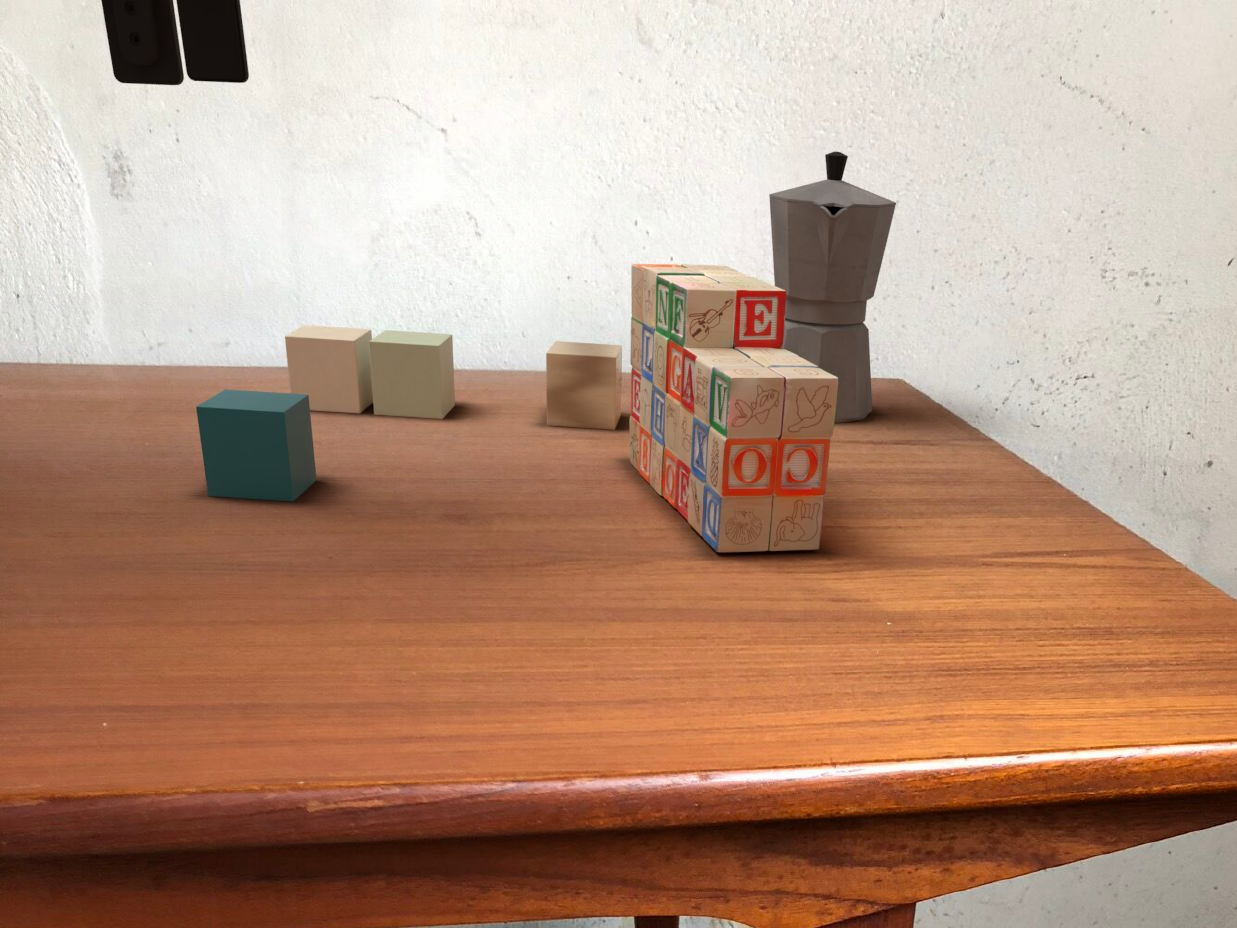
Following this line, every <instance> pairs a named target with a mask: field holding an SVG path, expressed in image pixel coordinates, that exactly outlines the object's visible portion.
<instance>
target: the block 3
mask: <svg viewBox="0 0 1237 928" xmlns="http://www.w3.org/2000/svg"><path fill="white" fill-rule="evenodd" d="M545 362H546V363H545V364H546V365H545V374H546V375H545V380H546V381H545V385H546V387H545V389H546V390H545V391H546V392H545V393H546V395H545V396H546V426H548V427H561V428H562V427H563V428H578V429H596V430H607V431H608V430H609V431H615V430H616V428H617V425H618V423H619V421H620V418H621V415H622V379H623V378H622V377H623V370H622V369H623V345H622V344H607V343H594V342H593V343H591V342H576V341H560V340H555V341H554V342H553V343H552V345H551V346H550V347H549V349H548V350H547V351H546V353H545Z"/></svg>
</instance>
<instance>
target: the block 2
mask: <svg viewBox="0 0 1237 928" xmlns="http://www.w3.org/2000/svg"><path fill="white" fill-rule="evenodd" d="M453 342H454V341H453V334H451V333H437V332H433V333H432V332H422V331H421V332H420V331H406V330H405V331H404V330H392V329H391V330H389V329H385V330H383V331H382V332H380V333H378V334H377V335H376V336H374V337H372V340H370V341H369V349H370V363H371V377H372V391H373V403H372V404H373V405H372V406H373V415H375V416H389V417H402V418H403V417H405V418H418V419H435V420H443V419H444V418H445V417H446V416H447V415H448V414H449V412H451V410H452V409H453V408H454V407H455V406H456V391H455V368H454V366H455V365H454V364H455V363H454V343H453Z"/></svg>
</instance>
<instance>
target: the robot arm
mask: <svg viewBox="0 0 1237 928" xmlns="http://www.w3.org/2000/svg"><path fill="white" fill-rule="evenodd" d="M100 1H101V8H102V13H103V19H104V25H105V30H106V37H107V43H108V49H109V55H110V61H111V67H112V73H113V76H114V79H115V80H116V81H117V82H119V83H120V84H132V85H159V86H180V85H182V84H183V82H184V79H185V75H184V67H183V61H182V53H181V47H180V39H179V32H178V26H177V25H178V24H177V19H176V11H175V5H174V0H100ZM175 1H176V8H177V15H178V22H179V28H180V35H181V37H180V38H181V43H182V44H181V45H182V49H183V56H184V65H185V71H186V75H187V77H188V78H189V80H191V81H194V82H208V83H209V82H211V83H213V82H214V83H232V84H233V83H234V84H243V83H246V82H248V80H249V78H250V74H249V64H248V56H247V50H246V39H245V32H244V25H243V24H244V23H243V16H242V6H241V0H175Z"/></svg>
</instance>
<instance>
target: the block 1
mask: <svg viewBox="0 0 1237 928" xmlns="http://www.w3.org/2000/svg"><path fill="white" fill-rule="evenodd" d="M372 335H373V334H372V329H371V328H357V327H340V326H326V325H325V326H324V325H310V324H304V325H303V326H300V327H298V328H297V329H295V330H293V331H291V332H290V333H288V334H286V335H284V343H285V353H286V361H287V362H286V363H287V372H288V373H287V374H288V381H289V393H290V394H306V395H308V396H309V405H310V412H311V411H313V412H328V413H343V414H357V415H358V414H361V413H363V412H364V411H365V410H366V409H367V408H369V407H370V406H371V405H372V404H373V391H372V377H371V363H370V349H369V341H370V340H372V339H373V336H372Z"/></svg>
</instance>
